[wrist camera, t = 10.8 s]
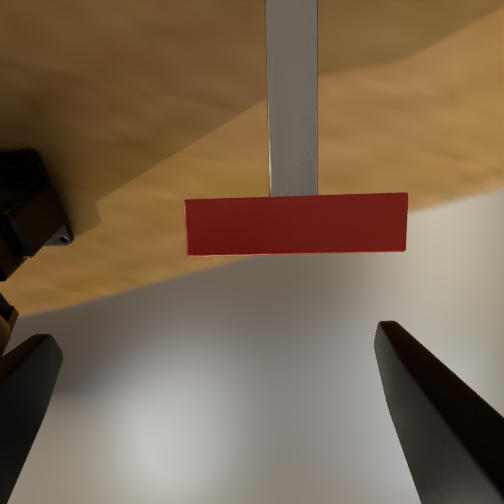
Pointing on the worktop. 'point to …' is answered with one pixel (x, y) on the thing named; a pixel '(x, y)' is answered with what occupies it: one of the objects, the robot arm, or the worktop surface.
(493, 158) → the worktop surface
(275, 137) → the lever
